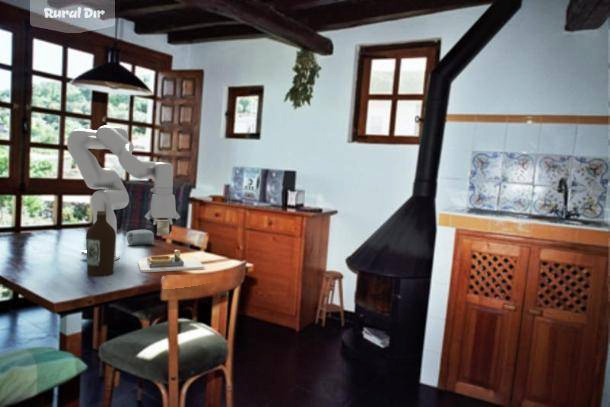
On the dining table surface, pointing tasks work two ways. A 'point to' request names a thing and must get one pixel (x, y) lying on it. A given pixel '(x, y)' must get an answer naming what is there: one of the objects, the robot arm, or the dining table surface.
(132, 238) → the rolled grey towel
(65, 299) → the dining table surface
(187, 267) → the index board
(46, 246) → the dining table surface
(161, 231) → the link block
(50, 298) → the dining table surface
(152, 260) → the carriage
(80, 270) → the dining table surface
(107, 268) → the olive oil
